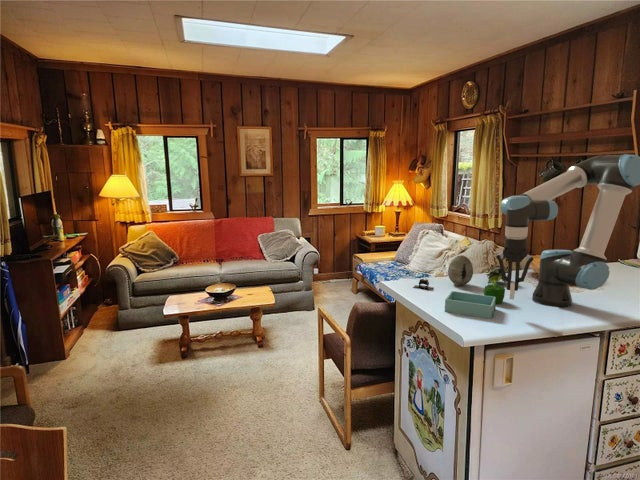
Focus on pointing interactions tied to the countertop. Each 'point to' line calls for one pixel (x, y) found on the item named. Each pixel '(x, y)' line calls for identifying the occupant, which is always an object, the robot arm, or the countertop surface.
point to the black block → (423, 286)
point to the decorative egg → (460, 270)
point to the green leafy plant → (496, 274)
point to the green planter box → (470, 304)
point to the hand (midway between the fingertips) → (511, 298)
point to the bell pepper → (495, 292)
